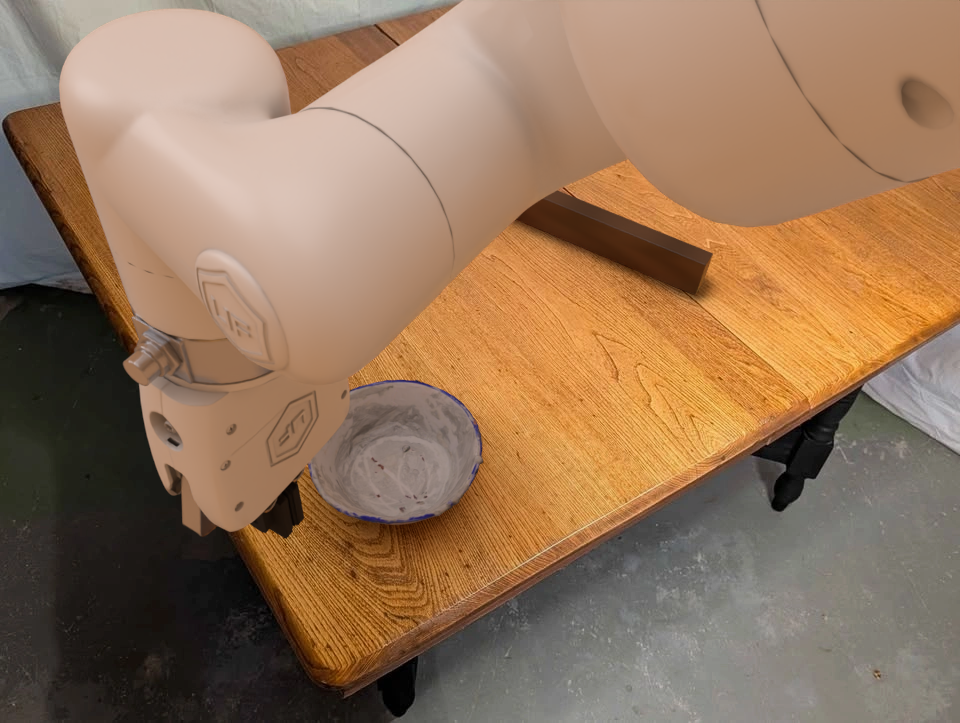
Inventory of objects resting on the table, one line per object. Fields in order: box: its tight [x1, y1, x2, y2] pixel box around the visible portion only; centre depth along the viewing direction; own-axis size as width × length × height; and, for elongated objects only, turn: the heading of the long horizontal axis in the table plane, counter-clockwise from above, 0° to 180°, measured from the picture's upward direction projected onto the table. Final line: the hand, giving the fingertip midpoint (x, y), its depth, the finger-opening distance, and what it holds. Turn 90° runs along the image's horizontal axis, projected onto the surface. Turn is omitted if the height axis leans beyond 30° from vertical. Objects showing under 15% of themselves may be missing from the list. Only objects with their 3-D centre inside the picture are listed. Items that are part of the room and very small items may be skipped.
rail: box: [516, 190, 714, 296], centre depth 84 cm, size 24×2×4 cm, turn 59°
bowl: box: [307, 379, 484, 526], centre depth 65 cm, size 13×13×5 cm
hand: (275, 517), depth 51 cm, fingers closed
